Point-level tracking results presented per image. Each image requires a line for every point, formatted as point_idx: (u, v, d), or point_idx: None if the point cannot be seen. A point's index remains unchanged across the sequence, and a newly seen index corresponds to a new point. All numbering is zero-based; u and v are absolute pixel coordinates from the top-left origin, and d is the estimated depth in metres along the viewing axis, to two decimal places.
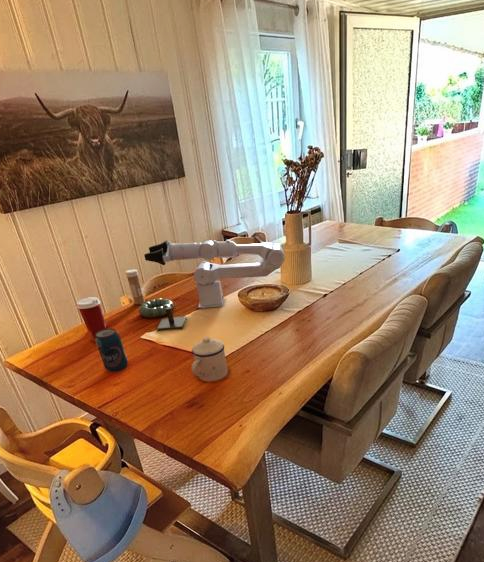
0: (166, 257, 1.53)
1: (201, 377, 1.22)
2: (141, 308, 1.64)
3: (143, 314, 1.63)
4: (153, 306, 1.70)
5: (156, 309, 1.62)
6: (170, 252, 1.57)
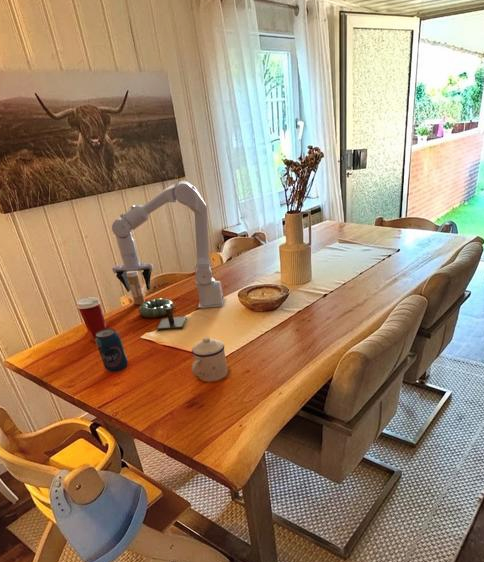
0: (151, 266, 1.58)
1: (201, 377, 1.22)
2: (141, 308, 1.64)
3: (143, 314, 1.63)
4: (153, 306, 1.70)
5: (156, 309, 1.62)
6: (139, 265, 1.57)
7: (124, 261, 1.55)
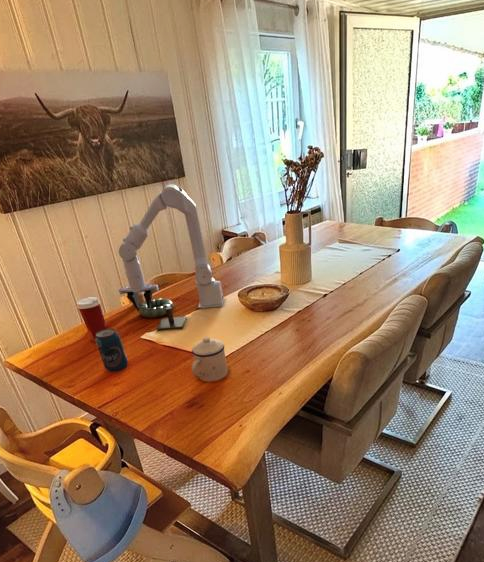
0: (157, 287, 1.62)
1: (201, 377, 1.22)
2: (141, 308, 1.64)
3: (143, 314, 1.63)
4: (153, 306, 1.70)
5: (156, 309, 1.62)
6: (144, 286, 1.62)
7: (130, 283, 1.59)
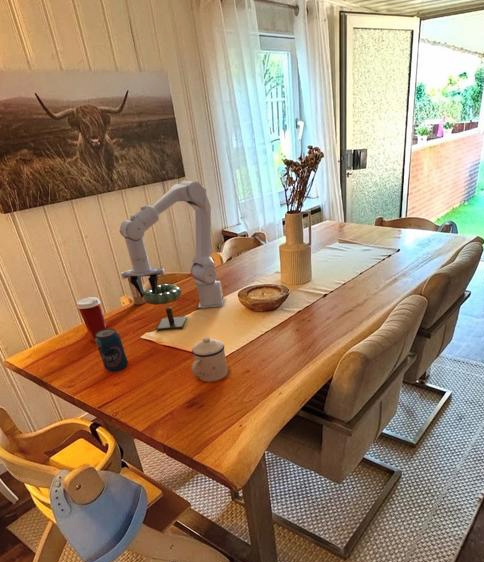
0: (163, 271, 1.48)
1: (201, 377, 1.22)
2: (145, 294, 1.50)
3: (148, 300, 1.49)
4: (158, 292, 1.55)
5: (162, 295, 1.48)
6: (149, 270, 1.47)
7: (134, 266, 1.45)
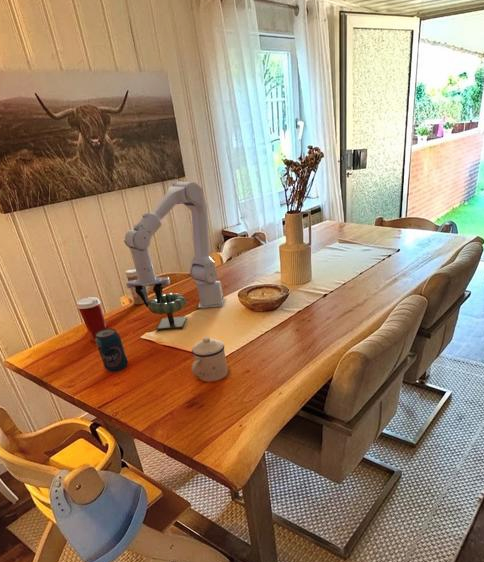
0: (168, 280, 1.47)
1: (201, 377, 1.22)
2: (150, 304, 1.49)
3: (153, 310, 1.48)
4: (163, 302, 1.55)
5: (167, 304, 1.47)
6: (154, 280, 1.47)
7: (139, 275, 1.44)
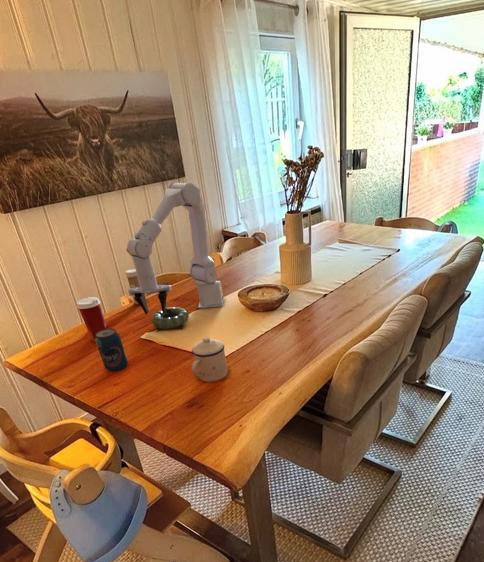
0: (170, 288, 1.49)
1: (201, 377, 1.22)
2: (154, 318, 1.52)
3: (156, 325, 1.51)
4: (166, 316, 1.58)
5: (170, 319, 1.50)
6: (156, 287, 1.48)
7: (141, 283, 1.46)
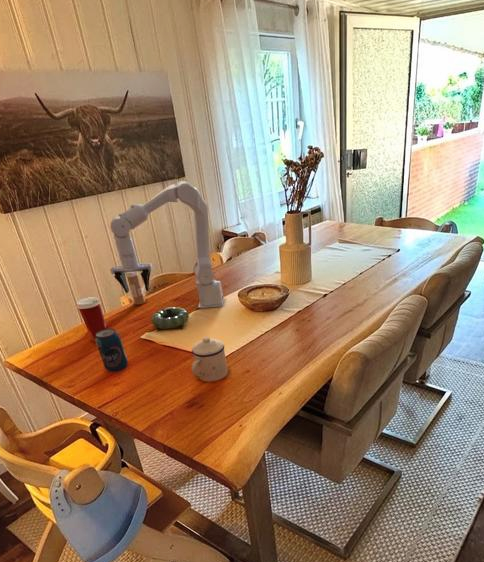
0: (150, 266, 1.54)
1: (201, 377, 1.22)
2: (154, 318, 1.52)
3: (156, 325, 1.51)
4: (166, 316, 1.58)
5: (170, 319, 1.50)
6: (137, 266, 1.53)
7: (122, 261, 1.51)
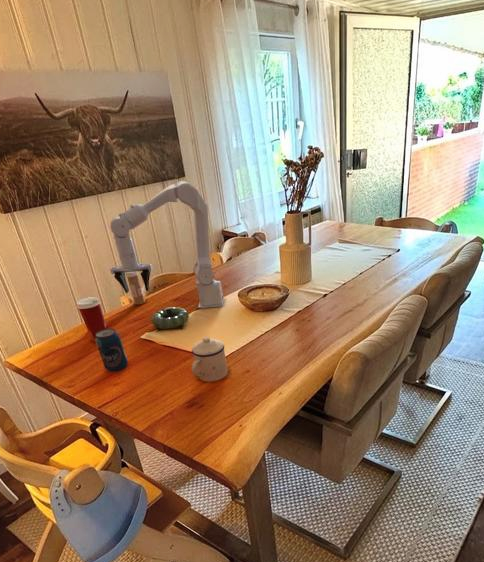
0: (150, 266, 1.54)
1: (201, 377, 1.22)
2: (154, 318, 1.52)
3: (156, 325, 1.51)
4: (166, 316, 1.58)
5: (170, 319, 1.50)
6: (137, 266, 1.53)
7: (122, 261, 1.51)
